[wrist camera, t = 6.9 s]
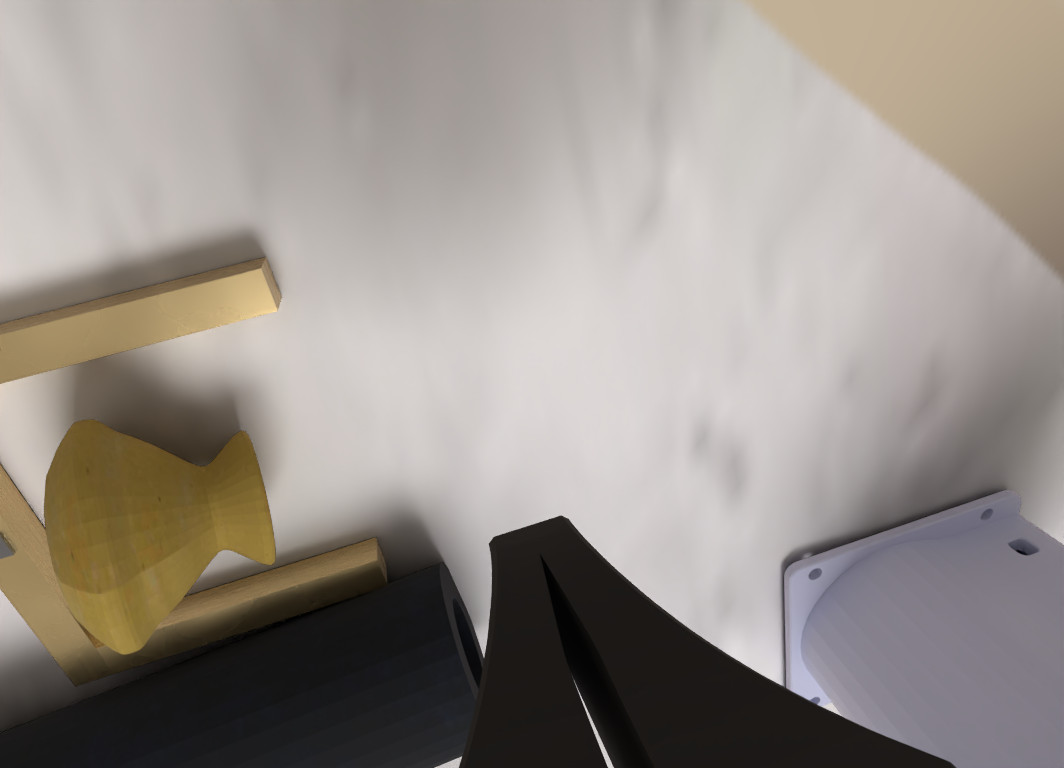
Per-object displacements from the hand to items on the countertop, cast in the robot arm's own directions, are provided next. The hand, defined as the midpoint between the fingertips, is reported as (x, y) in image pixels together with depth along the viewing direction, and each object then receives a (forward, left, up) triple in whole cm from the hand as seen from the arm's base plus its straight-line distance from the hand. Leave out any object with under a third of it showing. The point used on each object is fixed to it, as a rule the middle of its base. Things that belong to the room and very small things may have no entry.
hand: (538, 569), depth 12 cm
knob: (+8, 0, -8) cm, 11 cm away
